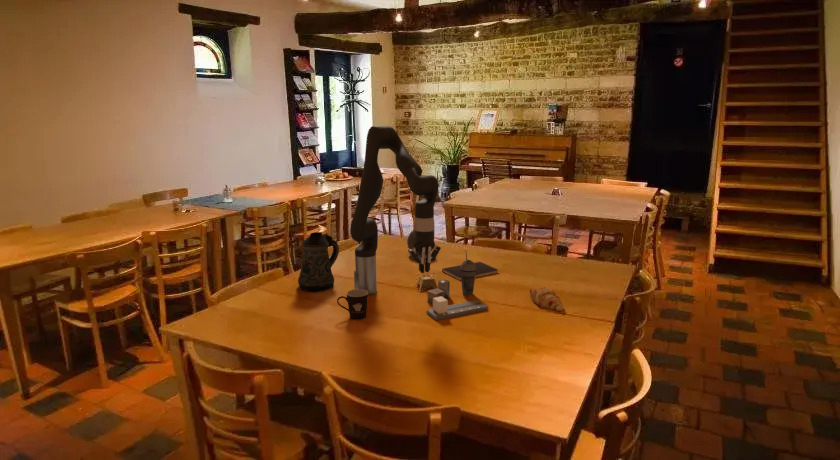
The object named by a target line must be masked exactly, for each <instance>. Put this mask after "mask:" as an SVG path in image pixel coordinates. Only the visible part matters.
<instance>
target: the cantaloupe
mask: <svg viewBox="0 0 840 460" xmlns="http://www.w3.org/2000/svg"><path fill="white" fill-rule="evenodd" d="M406 242H407V243H406V244H407V248H408V250H409V249H412V248H413V247H414V244H415V228H414V229H413V230H412V231H411V232H410V233H409V235H408V236H407V241H406ZM415 251H416V250H415ZM415 254H416V256H418V252H417V251H416V253H415Z"/></svg>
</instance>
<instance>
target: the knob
mask: <svg viewBox="0 0 840 460" xmlns="http://www.w3.org/2000/svg"><path fill="white" fill-rule="evenodd" d="M448 303H449V301H448V299H445V298H443V297H442V296H441V297H435V298H433V304H432V309H433V310H434V311H435V312H437V313H438V314H441V313H446V312H448V305H449V304H448Z"/></svg>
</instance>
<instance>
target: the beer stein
mask: <svg viewBox="0 0 840 460" xmlns="http://www.w3.org/2000/svg"><path fill="white" fill-rule="evenodd" d="M301 247H302V257H301V265H300V266H301V267H300V272H299V276H298V279H297V283H298V287H299V289H300V290H301V291H302V292H306V293H317V292H319V293H321V292H325V291H329V290H331V289H332V288H334V286H335V285H334V283H335V277H334V275H333V274H334V273H333V272H332V267H333V265H334V264H335V263H336V261H337V259H338V256H339V253H340V247H339V244H338V241H336V240H334V239H333V237H332V235H331V236H330V235H328V234H323V233H322V232H318V231H316V232H311V233H310V234H309V236H307V238H306V239H305V240H303V241H302V243H301ZM329 247H332V253H331V255H329Z"/></svg>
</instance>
